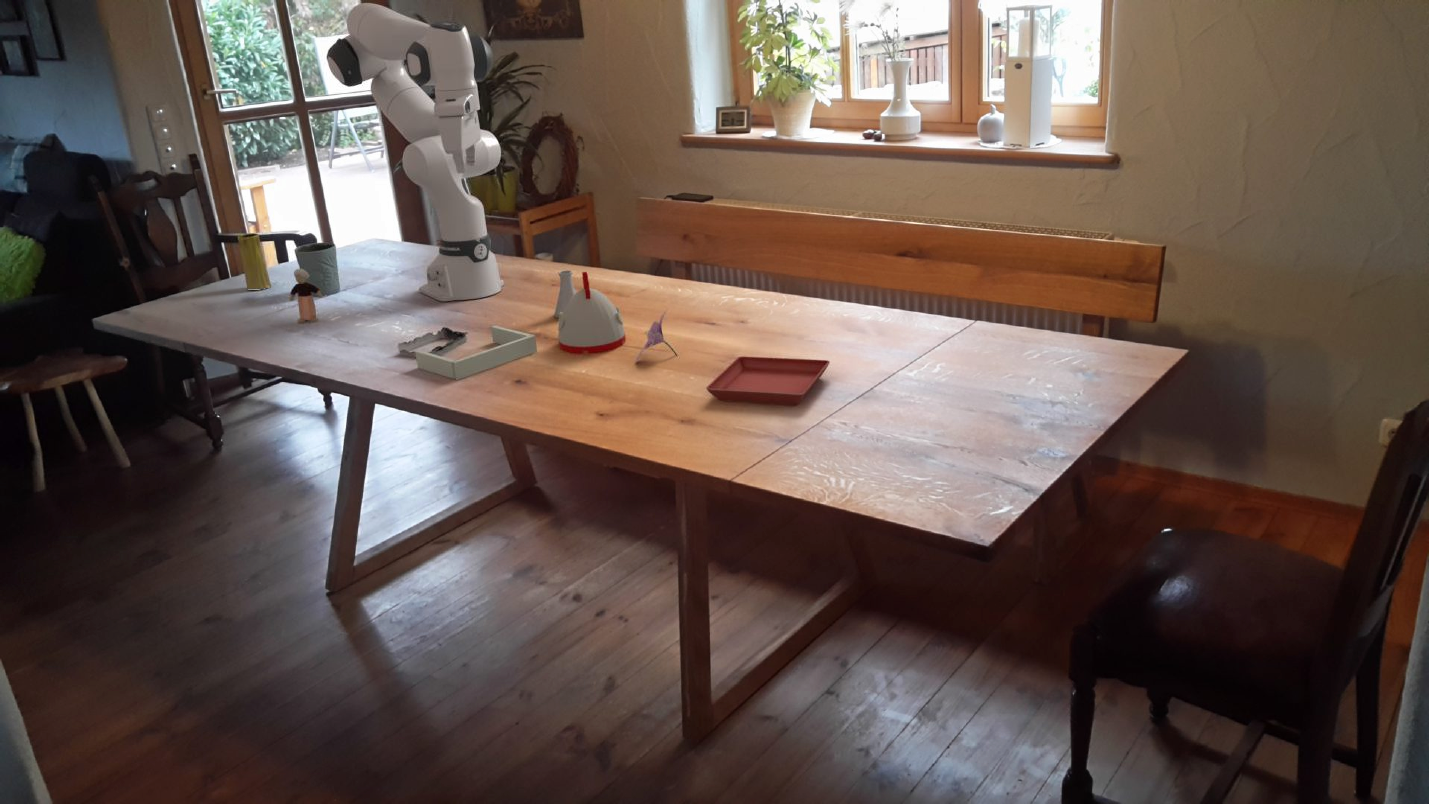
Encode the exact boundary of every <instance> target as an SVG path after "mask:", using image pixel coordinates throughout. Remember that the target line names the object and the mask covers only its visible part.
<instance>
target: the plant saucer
mask: <svg viewBox="0 0 1429 804" xmlns="http://www.w3.org/2000/svg"><path fill="white" fill-rule="evenodd" d="M829 365H830V360H828V359H809V358H808V359H807V358H806V359H805V358H804V359H803V358H790V357H788V358H786V357H785V358H783V357H763V356H761V357H760V356H745V355H744V356H738V357H737V358H736V359H735V360H733V361H732V363H731V364H729V365H728V366H727V367H726V368H725V369H724V370H722V372H721V373H720V374H719V375H717V376H716V378H715V379H714V380H712V381H711V382H710V383H709V384H708V385H707V386H706V388H705V389H706V390H707V392H709V394H711V395H712V396H713V397H714V398H716V399H717V400H719V401H723V402H734V403H751V404H762V405H765V404H766V405H776V406H777V405H779V406H780V405H781V406H791V407H795V406H798V405H799V404H800V403H801V401H802V400H803V398H805V396H807V394H808V393H809V391H810V390H812V388H813V387H814V386H815V384H816V383H817V382H818V381H819V379H820V378H821V377H822V376H823V374H824V373H825V371H826V370H827V368H828V366H829Z"/></svg>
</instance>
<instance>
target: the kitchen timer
mask: <svg viewBox="0 0 1429 804" xmlns="http://www.w3.org/2000/svg"><path fill="white" fill-rule="evenodd" d="M581 273H582V275H581V276H582V285H583V288H582V289H580V290H578V291H576V294H575V295H573V297H572V298H571V299H570V300H569V302H568V303H567V305H566V307H565V309H564V312H560V313H559V317H558V327H557V330H558V337H557V339H558V347H560V348H559V349H560V351H562V350H563V352H565V353H568V354H572V353H573V354H572V355H591V354H592V355H593V354H601V353H607V352H611V351H613V350H616V349H618V348H620V347H622V346H624V344H625V343H626V340H627V339H626V338H627V337H626V331H625V327H624V322H623V321H624V320H623V317H622V315H621V311H620V309H619V306H617V305H614V304H613V303H612V301H611V300H610V299H609V298H608V297H607V296H606V295H605V294H603V293H602V292H601V291H600V290H597V289H594V288H591V287H590V283H589V277H588V275H589V274H588V272H587V271H582V272H581Z"/></svg>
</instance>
